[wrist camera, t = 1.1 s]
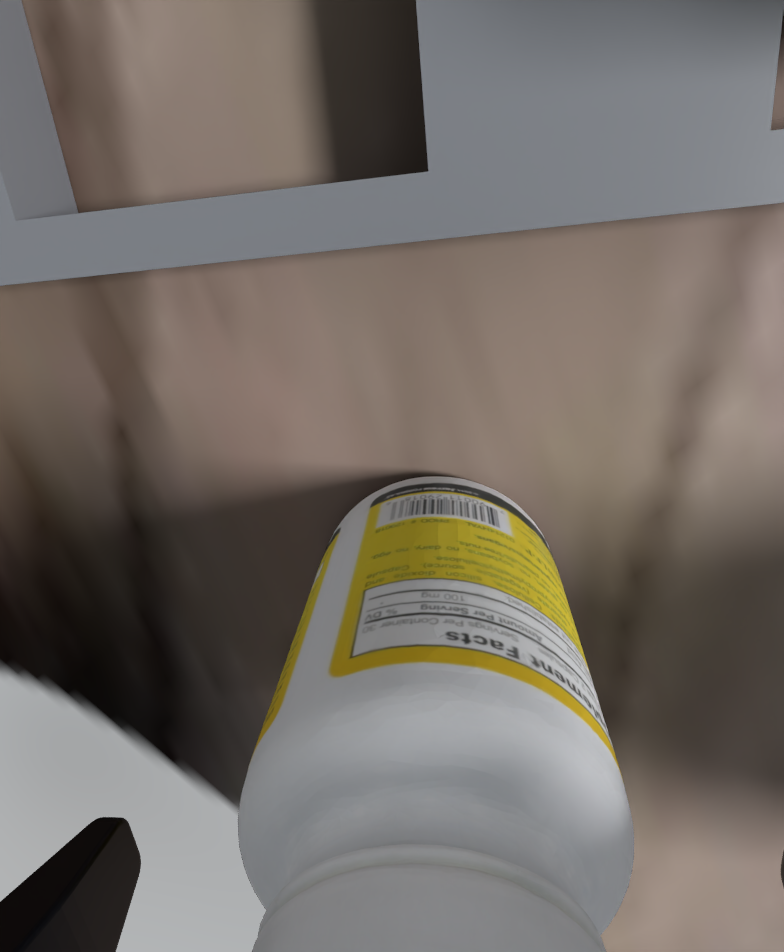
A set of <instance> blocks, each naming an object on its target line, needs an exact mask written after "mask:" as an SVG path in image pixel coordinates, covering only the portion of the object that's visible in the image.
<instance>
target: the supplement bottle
mask: <svg viewBox="0 0 784 952" xmlns="http://www.w3.org/2000/svg"><path fill="white" fill-rule="evenodd" d="M238 835H239V847H240V851H241V855H242V860H243V864H244V867H245V870H246V873H247V876H248V879H249V881H250V883H251V885H252V887H253V889H254V891H255V893H256V895H257V897H258V898H259V900H260V901H261V903H262V905H263V906H264V908H265V909H266V913H265V915H264V917H263V919H262V921H261V924H260V928H259V933H258V938H257V940H256V942H255V944H254V948H253V950H252V952H606V950H605V947H604V944H603V942H602V939H601V936H600V935H601V934H602V933H603V932H604V930H605V929H606V928H607V927H608V926H609V924H610V922H611V921H612V919H613V918H614V916H615V914H616V913H617V911H618V909H619V907H620V905H621V903H622V900H623V898H624V896H625V893H626V891H627V888H628V885H629V881H630V877H631V873H632V867H633V859H634V831H633V822H632V817H631V811H630V807H629V803H628V799H627V795H626V791H625V786H624V782H623V778H622V774H621V771H620V768H619V765H618V762H617V759H616V755H615V752H614V749H613V746H612V743H611V739H610V736H609V733H608V730H607V726H606V723H605V721H604V718H603V714H602V711H601V708H600V704H599V701H598V697H597V694H596V691H595V689H594V685H593V681H592V678H591V675H590V672H589V669H588V665H587V662H586V659H585V656H584V653H583V649H582V646H581V643H580V640H579V636H578V633H577V630H576V627H575V624H574V621H573V617H572V614H571V611H570V608H569V604H568V601H567V598H566V595H565V592H564V588H563V585H562V582H561V579H560V576H559V573H558V570H557V567H556V565H555V562H554V559H553V556H552V553H551V551H550V549H549V546H548V544H547V542H546V540H545V538H544V536H543V534H542V533H541V531H540V530H539V528H538V527H537V525H536V524H535V522H534V521H533V520H532V519H531V518H530V517H529V516H528V515H527V514H526V513H525V512H524V511H523V510H522V509H521V508H520V507H519V506H518V505H517V504H516V503H514V502H513V501H512V500H511V499H509V498H508V497H506V496H505V495H503V494H501V493H499V492H498V491H496V490H494V489H492V488H489V487H487V486H484V485H482V484H479V483H476V482H473V481H470V480H466V479H461V478H454V477H440V476H432V477H419V478H412V479H408V480H404V481H400V482H397V483H394V484H391V485H389V486H387V487H384V488H382V489H380V490H378V491H376V492H374V493H372V494H371V495H369V496H368V497H366V498H365V499H363V500H362V501H361V502H360V503H358V504H357V505H356V506H355V507H354V508H353V509H352V510H351V511H350V512H349V513H348V514H347V515H346V516H345V517H344V519H343V520H342V521H341V523H340V524H339V525H338V527H337V528H336V530H335V532H334V534H333V536H332V537H331V539H330V542H329V544H328V546H327V548H326V551H325V553H324V556H323V558H322V561H321V563H320V566H319V568H318V571H317V574H316V577H315V580H314V583H313V586H312V589H311V592H310V594H309V597H308V600H307V603H306V606H305V609H304V612H303V614H302V617H301V620H300V623H299V625H298V628H297V631H296V634H295V637H294V639H293V642H292V645H291V648H290V651H289V653H288V656H287V660H286V662H285V665H284V668H283V670H282V673H281V676H280V679H279V682H278V685H277V688H276V691H275V694H274V696H273V699H272V702H271V705H270V707H269V710H268V713H267V716H266V718H265V721H264V724H263V727H262V730H261V732H260V735H259V738H258V741H257V744H256V747H255V749H254V752H253V755H252V758H251V761H250V764H249V767H248V772H247V776H246V779H245V783H244V786H243V790H242V794H241V800H240V806H239V815H238Z"/></svg>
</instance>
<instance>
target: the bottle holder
mask: <svg viewBox="0 0 784 952" xmlns="http://www.w3.org/2000/svg"><path fill="white" fill-rule="evenodd" d="M416 9H417V22H418V36H419V50H420V63H421V77H422V91H423V104H424V118H425V132H426V145H427V159H428V172H420V173H412V174H403V175H395V176H386V177H378V178H370V179H361V180H353V181H345V182H336V183H328V184H320V185H311V186H303V187H294V188H286V189H278V190H269V191H261V192H253V193H244V194H236V195H228V196H219V197H211V198H202V199H194V200H186V201H177V202H169V203H161V204H152V205H144V206H135V207H127V208H119V209H110V210H102V211H94V212H85V213H78V210H77V206H76V203H75V199H74V195H73V191H72V188H71V184H70V180H69V176H68V173H67V169H66V165H65V162H64V158H63V154H62V150H61V147H60V143H59V139H58V135H57V132H56V128H55V124H54V120H53V117H52V113H51V109H50V106H49V102H48V98H47V94H46V91H45V87H44V83H43V79H42V76H41V72H40V68H39V64H38V61H37V57H36V53H35V50H34V46H33V42H32V38H31V35H30V31H29V27H28V23H27V20H26V16H25V12H24V8H23V5H22V1H21V0H0V286H2V285H11V284H21V283H30V282H40V281H49V280H59V279H68V278H77V277H87V276H96V275H106V274H115V273H125V272H134V271H143V270H153V269H162V268H172V267H181V266H191V265H200V264H209V263H219V262H228V261H238V260H247V259H256V258H266V257H275V256H285V255H294V254H304V253H313V252H322V251H332V250H341V249H351V248H360V247H370V246H379V245H388V244H398V243H407V242H417V241H426V240H436V239H445V238H454V237H464V236H473V235H483V234H492V233H502V232H511V231H520V230H530V229H539V228H549V227H558V226H567V225H577V224H586V223H596V222H605V221H615V220H624V219H633V218H643V217H652V216H662V215H671V214H681V213H690V212H699V211H709V210H718V209H728V208H737V207H747V206H756V205H765V204H775V203H784V129H780V130H771V121H772V112H773V103H774V94H775V84H776V75H777V66H778V57H779V48H780V38H781V29H782V20H783V11H784V0H416ZM770 130H771V131H770Z"/></svg>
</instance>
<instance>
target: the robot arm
mask: <svg viewBox="0 0 784 952" xmlns="http://www.w3.org/2000/svg"><path fill="white" fill-rule="evenodd" d="M140 866H141V859H140V853H139V850H138V848H137V845H136V842H135V839H134V837H133V834H132V831H131V828H130V826H129V823H128V822H127V820H125V819H124V818H115V817H103V818H98V819H96V820H94V821H93V822H91V823H90V824H89V825H88V826H87V827H86V828H84V829H83V830H82V831H81V832H80V833H79V834H78V835H76V836H75V837H74V838H73V839H72V840H71V841H69V842H68V843H67V844H66V845H65V846H64V847H63V848H61V849H60V850H59V851H58V852H57V853H56V854H55V855H53V856H52V857H51V858H50V859H49V860H48V861H47V862H45V863H44V864H43V865H42V866H41V867H40V868H39V869H37V870H36V871H35V872H34V873H33V874H32V875H30V876H29V877H28V878H27V879H26V880H25V881H24V882H22V883H21V884H20V885H19V886H18V887H17V888H16V889H15V890H13V891H12V892H11V893H10V894H9V895H8V896H6V898H4V899H3V900H2V901H1V902H0V952H116V949H117V945H118V942H119V939H120V935H121V932H122V929H123V926H124V923H125V919H126V916H127V913H128V909H129V906H130V903H131V900H132V896H133V893H134V890H135V887H136V883H137V880H138V877H139V873H140ZM781 878H782V883H783V887H784V852H783V858H782V863H781Z"/></svg>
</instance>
